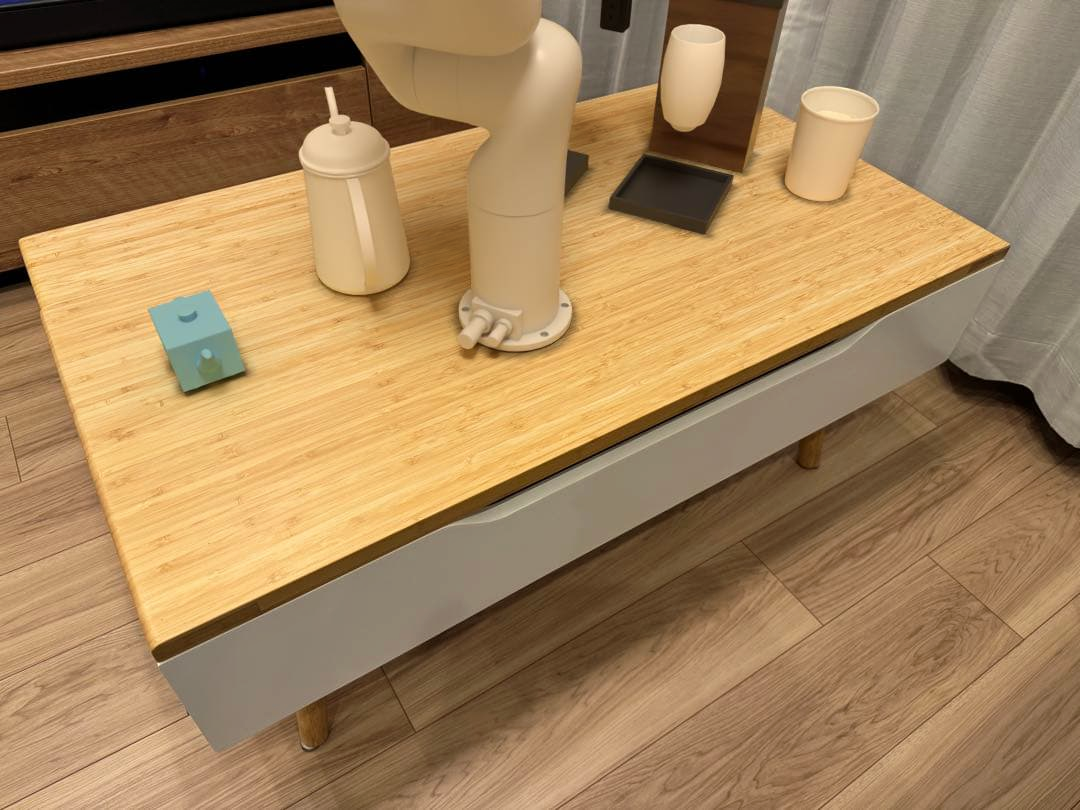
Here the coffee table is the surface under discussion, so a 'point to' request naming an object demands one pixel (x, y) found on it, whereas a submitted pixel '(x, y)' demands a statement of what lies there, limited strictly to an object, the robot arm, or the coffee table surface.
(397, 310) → the coffee table surface
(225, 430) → the coffee table surface
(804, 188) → the cream open tapered cylinder
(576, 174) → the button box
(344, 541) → the coffee table surface
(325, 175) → the coffeepot
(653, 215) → the drip pan
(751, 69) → the column
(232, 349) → the teal peg block
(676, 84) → the cream vase
